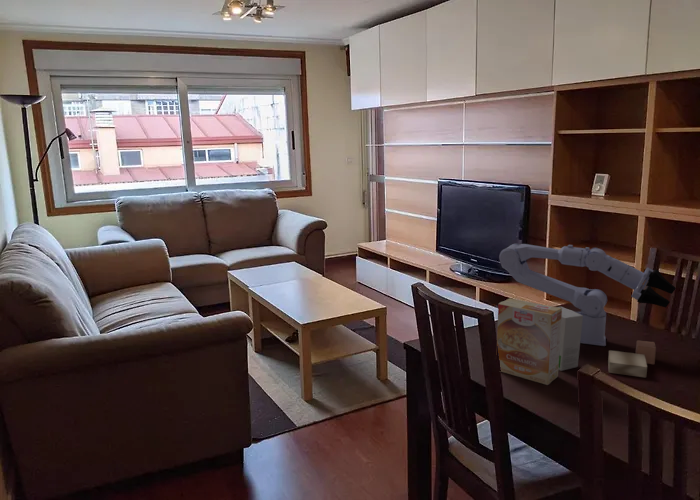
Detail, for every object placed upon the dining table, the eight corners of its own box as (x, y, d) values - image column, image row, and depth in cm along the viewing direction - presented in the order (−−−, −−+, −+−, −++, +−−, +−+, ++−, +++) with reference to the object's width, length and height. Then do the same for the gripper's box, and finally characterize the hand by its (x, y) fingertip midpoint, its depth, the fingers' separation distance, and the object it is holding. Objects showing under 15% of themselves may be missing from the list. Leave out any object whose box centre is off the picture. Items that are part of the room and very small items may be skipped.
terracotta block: (636, 362, 154) (637, 345, 153) (635, 356, 158) (636, 340, 157) (654, 364, 152) (655, 347, 151) (652, 358, 156) (654, 342, 155)
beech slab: (608, 372, 148) (609, 362, 147) (608, 360, 156) (608, 350, 155) (646, 377, 144) (647, 367, 144) (643, 364, 152) (644, 354, 152)
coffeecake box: (495, 370, 151) (497, 303, 147) (507, 362, 156) (509, 297, 152) (547, 386, 141) (551, 314, 137) (558, 376, 146) (562, 307, 142)
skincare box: (540, 360, 157) (543, 309, 154) (558, 356, 159) (560, 305, 156) (562, 371, 149) (565, 317, 146) (580, 367, 152) (583, 314, 149)
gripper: (623, 276, 155) (672, 301, 149) (637, 252, 164) (683, 275, 159) (612, 293, 159) (659, 318, 154) (626, 269, 169) (671, 291, 163)
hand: (671, 297), depth 157 cm, fingers open, 7 cm apart
